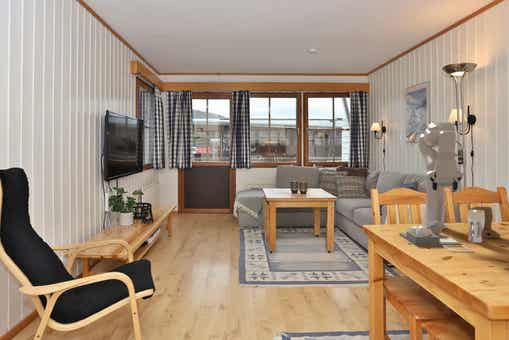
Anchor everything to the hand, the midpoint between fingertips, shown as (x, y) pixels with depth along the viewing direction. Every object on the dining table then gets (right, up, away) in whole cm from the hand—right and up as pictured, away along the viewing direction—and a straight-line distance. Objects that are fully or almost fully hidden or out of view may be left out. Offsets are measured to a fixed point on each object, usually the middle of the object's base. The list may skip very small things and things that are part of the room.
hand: (444, 190), depth 190 cm
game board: (-11, -24, -11) cm, 29 cm away
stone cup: (+21, -24, +3) cm, 32 cm away
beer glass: (+10, -24, -9) cm, 28 cm away
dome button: (-16, -22, -10) cm, 29 cm away
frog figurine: (-5, -23, 0) cm, 23 cm away
